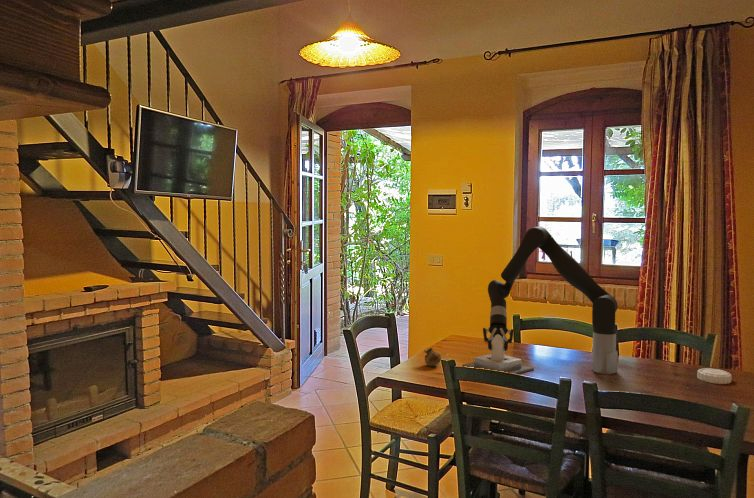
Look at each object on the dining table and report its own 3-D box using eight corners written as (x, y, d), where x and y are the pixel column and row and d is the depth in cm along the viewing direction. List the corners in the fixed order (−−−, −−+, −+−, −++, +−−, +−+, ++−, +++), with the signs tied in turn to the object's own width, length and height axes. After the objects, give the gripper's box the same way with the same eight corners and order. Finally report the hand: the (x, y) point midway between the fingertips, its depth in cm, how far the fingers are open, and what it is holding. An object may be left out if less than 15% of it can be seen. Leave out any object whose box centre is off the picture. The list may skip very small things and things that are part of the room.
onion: (424, 368, 240) (424, 350, 240) (423, 363, 248) (423, 346, 248) (441, 368, 240) (441, 350, 240) (440, 363, 248) (440, 346, 248)
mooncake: (736, 385, 216) (737, 376, 216) (704, 383, 218) (704, 375, 218) (723, 376, 228) (723, 367, 228) (692, 374, 230) (692, 366, 230)
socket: (533, 370, 237) (533, 360, 237) (499, 379, 225) (499, 368, 224) (496, 359, 255) (496, 349, 255) (462, 366, 243) (462, 357, 242)
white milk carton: (501, 332, 242) (507, 335, 237) (501, 358, 243) (506, 361, 238) (489, 332, 241) (494, 335, 236) (488, 359, 242) (493, 362, 237)
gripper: (482, 312, 247) (481, 344, 237) (514, 314, 244) (514, 346, 233) (482, 321, 253) (481, 353, 242) (514, 323, 250) (514, 355, 239)
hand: (497, 349), depth 238 cm, fingers closed on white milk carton, 6 cm apart
